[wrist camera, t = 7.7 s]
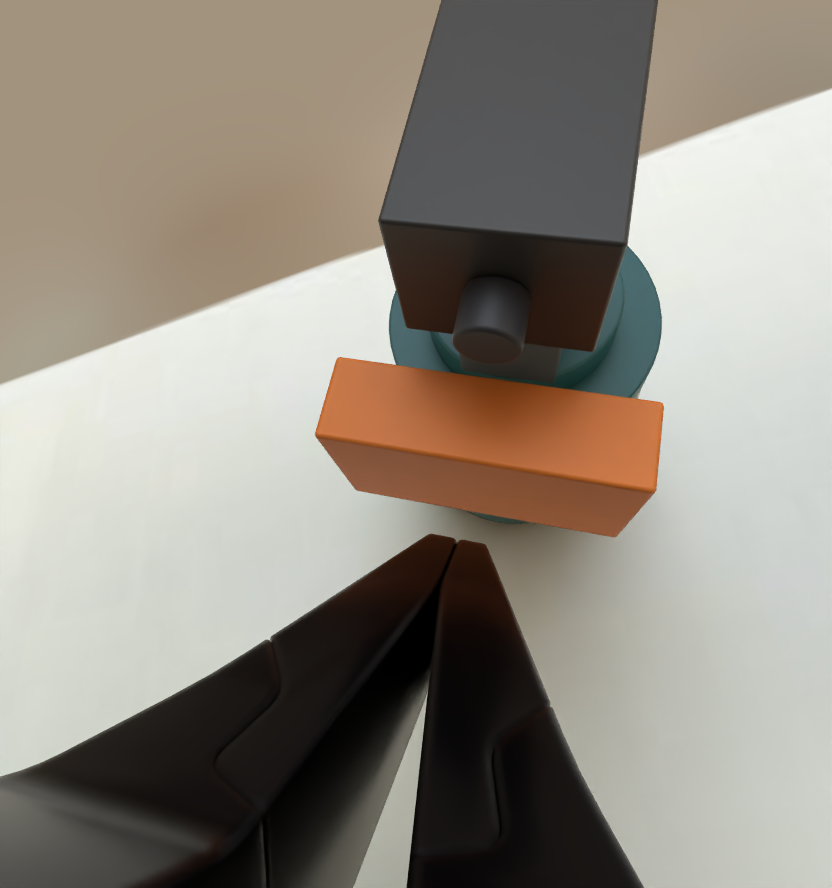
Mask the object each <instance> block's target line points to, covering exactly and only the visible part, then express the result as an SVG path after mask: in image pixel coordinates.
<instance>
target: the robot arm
mask: <svg viewBox="0 0 832 888" xmlns="http://www.w3.org/2000/svg"><path fill="white" fill-rule="evenodd" d="M427 691H428V695H427V705H426V714H425V723H424V732H423V742H422V751H421V760H420V769H419V779H418V788H417V797H416V806H415V815H414V825H413V834H412V843H411V852H410V862H409V871H408V880H407V888H644V887H643V885H642V883H641V881H640V880H639V878H638V876H637V874H636V873H635V871H634V869H633V867H632V865H631V864H630V862H629V860H628V858H627V857H626V855H625V853H624V851H623V849H622V848H621V846H620V844H619V842H618V841H617V839H616V837H615V835H614V833H613V832H612V830H611V828H610V826H609V825H608V823H607V821H606V819H605V817H604V816H603V814H602V812H601V810H600V808H599V806H598V805H597V803H596V801H595V799H594V797H593V795H592V793H591V791H590V789H589V788H588V786H587V784H586V782H585V780H584V778H583V776H582V774H581V772H580V771H579V768H578V766H577V764H576V762H575V759H574V757H573V755H572V753H571V750H570V748H569V746H568V744H567V742H566V739H565V737H564V735H563V733H562V730H561V728H560V725H559V723H558V720H557V718H556V715H555V713H554V710H553V708H552V707H550V701H549V699H548V696H547V694H546V691H545V689H544V686H543V684H542V681H541V679H540V676H539V674H538V671H537V669H536V667H535V664H534V662H533V659H532V657H531V654H530V652H529V649H528V647H527V644H526V642H525V639H524V637H523V634H522V632H521V629H520V627H519V624H518V622H517V620H516V617H515V615H514V612H513V610H512V607H511V605H510V602H509V600H508V597H507V595H506V592H505V590H504V587H503V585H502V582H501V580H500V577H499V575H498V573H497V570H496V568H495V565H494V563H493V560H492V558H491V555H490V553H489V550H488V548H487V546H486V545H485V544H483V543H478V542H472V541H467V540H459V541H458V542H456V540H455V539H454V538H451V537H446V536H441V535H436V534H429V535H427V536H425V537H423V538H422V539H420V540H419V541H417V542H416V543H414V544H413V545H411V546H410V547H408V548H407V549H405V550H403V551H402V552H400V553H399V554H397V555H396V556H394V557H393V558H391V559H390V560H388V561H387V562H385V563H383V564H382V565H380V566H379V567H377V568H376V569H374V570H373V571H371V572H370V573H368V574H367V575H365V576H363V577H362V578H360V579H359V580H357V581H356V582H354V583H353V584H351V585H350V586H348V587H347V588H345V589H343V590H342V591H340V592H339V593H337V594H336V595H334V596H333V597H331V598H330V599H328V600H327V601H325V602H323V603H322V604H320V605H319V606H317V607H316V608H314V609H313V610H311V611H310V612H308V613H307V614H305V615H303V616H302V617H300V618H299V619H297V620H296V621H294V622H293V623H291V624H290V625H288V626H287V627H285V628H283V629H282V630H280V631H279V632H277V633H276V634H274V635H273V636H271V638H270V640H265V641H263V642H261V643H260V644H258V645H257V646H255V647H254V648H252V649H251V650H249V651H248V652H246V653H245V654H243V655H241V656H240V657H238V658H236V659H235V660H233V661H231V662H230V663H228V664H227V665H225V666H223V667H222V668H220V669H218V670H217V671H215V672H214V673H212V674H210V675H208V676H207V677H205V678H203V679H201V680H199V681H198V682H196V683H194V684H192V685H190V686H188V687H187V688H185V689H183V690H181V691H179V692H177V693H176V694H174V695H172V696H170V697H168V698H166V699H165V700H163V701H161V702H159V703H157V704H155V705H153V706H151V707H149V708H147V709H145V710H143V711H142V712H140V713H138V714H136V715H134V716H132V717H130V718H128V719H126V720H124V721H122V722H120V723H118V724H117V725H115V726H113V727H111V728H109V729H107V730H105V731H103V732H101V733H99V734H97V735H95V736H94V737H92V738H90V739H88V740H86V741H84V742H82V743H80V744H78V745H76V746H74V747H72V748H70V749H69V750H67V751H65V752H63V753H61V754H59V755H57V756H54V757H52V758H50V759H48V760H46V761H44V762H42V763H39V764H37V765H34V766H32V767H29V768H26V769H24V770H21V771H18V772H15V773H11V774H8V775H5V776H1V777H0V888H353V886H354V884H355V881H356V878H357V876H358V873H359V870H360V868H361V865H362V863H363V860H364V857H365V855H366V852H367V850H368V847H369V844H370V842H371V839H372V836H373V834H374V831H375V829H376V826H377V823H378V821H379V818H380V816H381V813H382V810H383V808H384V805H385V802H386V800H387V797H388V795H389V792H390V789H391V787H392V784H393V782H394V779H395V776H396V774H397V771H398V768H399V766H400V763H401V761H402V758H403V755H404V753H405V750H406V748H407V745H408V742H409V740H410V737H411V735H412V732H413V729H414V727H415V724H416V721H417V719H418V716H419V714H420V711H421V708H422V706H423V703H424V700H425V697H426V694H427Z"/></svg>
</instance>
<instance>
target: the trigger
mask: <svg viewBox="0 0 832 888" xmlns="http://www.w3.org/2000/svg"><path fill="white" fill-rule="evenodd" d="M663 410H664V407H663V403H661V402H655V401H648V400H641V399H634V398H627V397H620V396H613V395H606V394H599V393H591V392H584V391H577V390H570V389H563V388H556V387H549V386H542V385H534V384H527V383H520V382H513V381H506V380H499V379H492V378H485V377H477V376H470V375H463V374H456V373H449V372H442V371H435V370H428V369H421V368H413V367H406V366H399V365H392V364H385V363H378V362H371V361H364V360H356V359H349V358H342V357H339V358H337V360H336V363H335V366H334V370H333V373H332V377H331V380H330V384H329V387H328V391H327V394H326V398H325V401H324V404H323V408H322V411H321V415H320V418H319V422H318V425H317V429H316V432H315V436H316V438H317V439H318V440H319V442H320V443H321V444H322V446H323V447H324V448H325V450H326V451H327V452H328V454H329V455H330V456H331V458H332V459H333V460H334V462H335V463H336V464H337V466H338V467H339V468H340V470H341V471H342V472H343V474H344V475H345V476H346V478H347V479H348V480H349V482H350V483H351V484H352V486H353V487H354V488H355V489H356V490H357V491H362V492H368V493H373V494H379V495H384V496H390V497H395V498H401V499H406V500H412V501H417V502H423V503H428V504H434V505H439V506H445V507H450V508H456V509H461V510H467V511H472V512H478V513H483V514H489V515H494V516H500V517H505V518H511V519H516V520H522V521H527V522H533V523H538V524H544V525H549V526H555V527H560V528H566V529H571V530H577V531H582V532H588V533H593V534H599V535H604V536H610V537H616V536H617V535H618V534H619V533H620V532H621V531H622V529H623V528H624V527H625V526H626V525H627V524H628V523H629V521H630V520H631V519H632V518H633V517H634V516H635V515H636V513H637V512H638V511H639V510H640V509H641V508H642V507H643V505H644V504H645V503H646V502H647V501H648V500H649V499H650V497H651V496H652V495H653V494H654V493H655V491H656V486H657V475H658V464H659V453H660V443H661V432H662V421H663Z"/></svg>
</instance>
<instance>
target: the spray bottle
mask: <svg viewBox="0 0 832 888" xmlns="http://www.w3.org/2000/svg"><path fill="white" fill-rule="evenodd" d="M657 4H658V0H441V4H440V7H439V11H438V14H437V18H436V21H435V25H434V28H433V32H432V35H431V39H430V42H429V45H428V49H427V52H426V56H425V59H424V63H423V66H422V70H421V74H420V77H419V80H418V84H417V87H416V91H415V94H414V98H413V101H412V105H411V108H410V112H409V115H408V119H407V122H406V126H405V129H404V133H403V136H402V140H401V143H400V147H399V150H398V153H397V157H396V161H395V164H394V168H393V171H392V175H391V178H390V182H389V185H388V188H387V192H386V195H385V199H384V202H383V206H382V209H381V213H380V216H379V220H378V221H379V225H380V229H381V233H382V237H383V240H384V245H385V249H386V253H387V257H388V260H389V264H390V268H391V272H392V276H393V280H394V284H395V288H396V291H395V294H394V297H393V300H392V305H391V310H390V317H389V335H390V344H391V348H392V352H393V356H394V360H395V363H396V365H399V366H406V367H413V368H421V369H428V370H435V371H442V372H449V373H456V374H463V375H470V376H477V377H485V378H492V379H499V380H506V381H513V382H520V383H527V384H534V385H542V386H549V387H556V388H563V389H570V390H577V391H584V392H591V393H599V394H606V395H613V396H620V397H627V398H634V399H638V396H639V393H640V390H641V388H642V386H643V384H644V382H645V380H646V378H647V376H648V374H649V372H650V370H651V368H652V366H653V364H654V361H655V358H656V355H657V352H658V349H659V344H660V339H661V330H662V316H661V309H660V302H659V298H658V295H657V292H656V288H655V286H654V283H653V281H652V279H651V277H650V275H649V273H648V271H647V270H646V268H645V267H644V265H643V264H642V262H641V261H640V259H639V258H638V257H637V256H636V255H635V253H634V252H633V251H632V250H631V249H630V248H629V247H628V246H627V244H628V236H629V228H630V220H631V212H632V205H633V197H634V189H635V181H636V173H637V165H638V157H639V148H640V140H641V133H642V124H643V116H644V109H645V101H646V93H647V84H648V77H649V68H650V60H651V53H652V44H653V37H654V29H655V21H656V12H657ZM469 512H470V513H472V514H474V515H477V516H479V517H482V518H484V519H488V520H492V521H496V522H502V523H529V522H527V521H522V520H516V519H511V518H505V517H500V516H494V515H489V514H483V513H478V512H472V511H469Z"/></svg>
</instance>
